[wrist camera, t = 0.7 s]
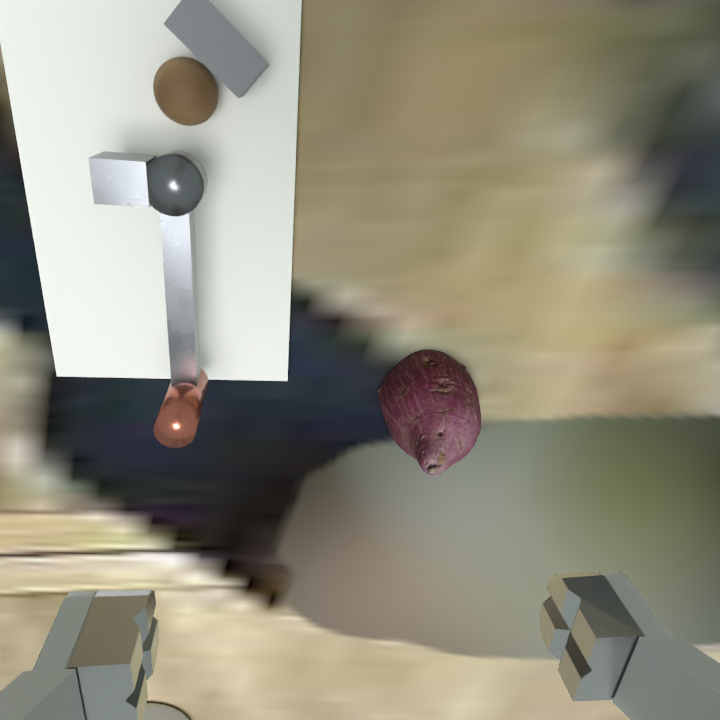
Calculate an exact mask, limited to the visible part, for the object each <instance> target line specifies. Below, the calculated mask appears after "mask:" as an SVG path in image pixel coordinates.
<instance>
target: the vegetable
mask: <svg viewBox="0 0 720 720" xmlns="http://www.w3.org/2000/svg"><path fill="white" fill-rule="evenodd" d="M378 391H379V394H378V395H379V402H380V406H381V410H382V413H383V416H384V418H385V421H386V423H387V426H388V428H389V430H390V433H391V435H392V437H393V439H394V440H395V441H396V443H397V444H398V446H399V447H400V448H402V449H403V450H404V451H405V452H406V453H407V454H409V455H411V456H412V457H414V458H415V459H416V460H417V461H418V463H419V465H420V466H421V468H422V470H423V471H424V472H426V473H427V474H429V475H438V474H441V473H442V472H444V471H445V470H446V469H447V468H448V467H450V466H451V465H452V464H454V463H456V462H458V461H460V460H461V459H462V458H464V457H465V456H466V455H467V454H468V453H469V452H470V450H471V449H472V448H473V446H474V445H475V443H476V441H477V438H478V436H479V433H480V430H481V412H480V405H479V399H478V393H477V389H476V386H475V384H474V382H473V380H472V378H471V377H470V375H469V374H468V372H467V371H466V370H465V366H463V365H460V364H459V363H458V362H456V360H454V359H453V358H451V357H449V356H448V355H446V354H444V353H443V352H439V351H433V350H422V351H418V352H415V353H413V354H411V355H409V356H408V357H406V358H405V359H403V360H402V361H401V362H400V363H399V364H398V365H397V366H396V367H395V368H394V369H393V370H392V371H391V372H390V373H389V374H388V375H387V376H386V377H385V378H384V380H383V382H382V384H381V386H380V387H379V389H378Z"/></svg>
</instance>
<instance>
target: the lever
mask: <svg viewBox="0 0 720 720" xmlns="http://www.w3.org/2000/svg"><path fill="white" fill-rule="evenodd" d="M89 166H90V174H91V183H92V191H93V200H94V204H102V205H117V206H133V207H150V206H152V207H153V208H154V209H155V210H157V211H158V212H160V224H161V239H162V254H163V268H164V283H165V298H166V313H167V328H168V343H169V357H170V372H171V383H170V385H169V388H168V391H167V393H166V396H165V399H164V401H163V404H162V407H161V409H160V412H159V415H158V418H157V420H156V423H155V426H154V434H155V437H156V438H157V440H158V441H159V442H160V443H162V444H163V445H165V446H168V447H173V448H179V447H184V446H186V445H188V444H189V443H191V442H192V440H193V439H194V437H195V434H196V430H197V426H198V422H199V417H200V413H201V409H202V405H203V401H204V397H205V393H206V389H207V385H208V376H207V374H206V373H205V371H204V370H203V369H201V367H200V343H199V318H198V293H197V269H196V244H195V220H194V209H195V208H196V207H197V205H198V204H199V202H200V201H201V199H202V198H203V196H204V195H205V193H206V190H207V185H208V179H207V174H206V171H205V169H204V167H203V165H202V164H201V163H200V161H199V160H198V159H197V158H195V157H194V156H193V155H191V154H189V153H187V152H184V151H178V150H174V151H169V152H166V153H164V154H162V155H160V156H159V157H157V155H146V154H133V153H120V152H107V151H104V152H101V153H99V154H96V155H94V156H91V157H89Z"/></svg>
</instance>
